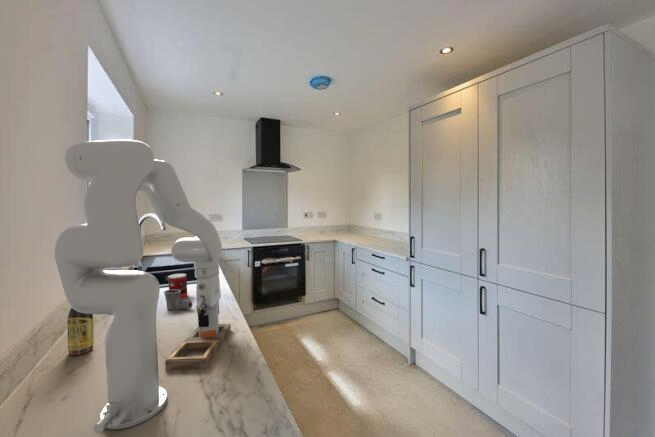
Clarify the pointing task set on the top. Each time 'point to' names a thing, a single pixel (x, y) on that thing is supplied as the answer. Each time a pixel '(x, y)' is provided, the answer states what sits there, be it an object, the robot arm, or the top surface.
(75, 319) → the sauce bottle
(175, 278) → the canned food
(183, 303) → the pipe
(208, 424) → the top surface
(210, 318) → the skincare box
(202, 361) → the wooden flat frame
